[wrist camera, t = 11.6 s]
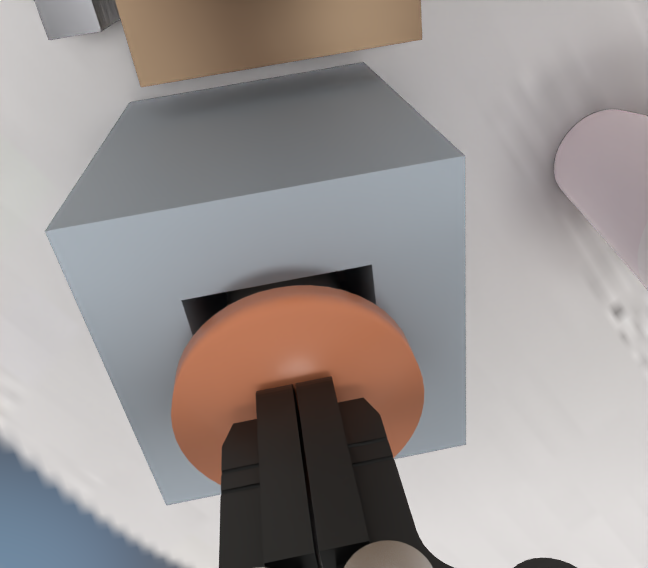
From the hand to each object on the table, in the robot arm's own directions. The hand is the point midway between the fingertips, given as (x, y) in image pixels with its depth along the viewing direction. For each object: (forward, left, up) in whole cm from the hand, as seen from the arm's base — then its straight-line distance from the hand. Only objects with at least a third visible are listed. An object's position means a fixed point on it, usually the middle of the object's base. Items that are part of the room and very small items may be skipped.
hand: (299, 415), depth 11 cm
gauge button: (0, 0, -7) cm, 7 cm away
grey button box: (0, 0, -12) cm, 12 cm away
